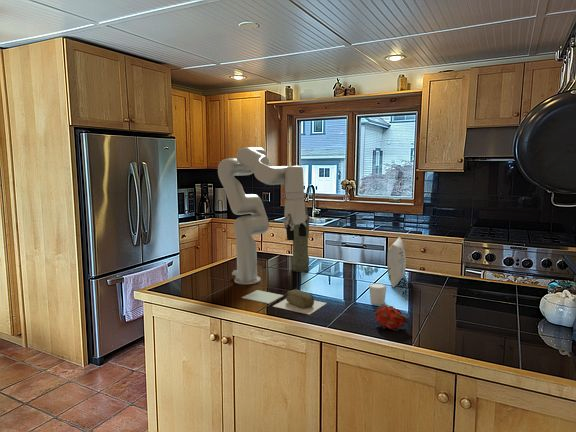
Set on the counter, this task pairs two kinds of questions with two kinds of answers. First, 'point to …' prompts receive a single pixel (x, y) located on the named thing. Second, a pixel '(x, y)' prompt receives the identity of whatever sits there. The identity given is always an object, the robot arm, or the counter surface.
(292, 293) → the stone block
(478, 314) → the counter surface
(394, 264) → the pouch
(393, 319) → the dragon fruit
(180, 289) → the counter surface
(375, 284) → the white cylinder
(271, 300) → the pale green pad
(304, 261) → the olive stone pillar
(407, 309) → the counter surface
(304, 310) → the tile
